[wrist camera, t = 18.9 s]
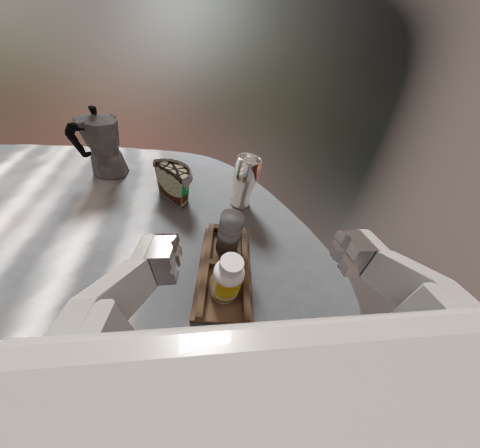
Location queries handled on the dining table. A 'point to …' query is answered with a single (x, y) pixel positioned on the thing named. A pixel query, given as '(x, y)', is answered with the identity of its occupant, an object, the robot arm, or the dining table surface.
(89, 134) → the coffeepot
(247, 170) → the beer glass
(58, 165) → the dining table surface
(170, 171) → the food container
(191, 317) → the wooden compartment tray
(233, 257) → the supplement bottle
